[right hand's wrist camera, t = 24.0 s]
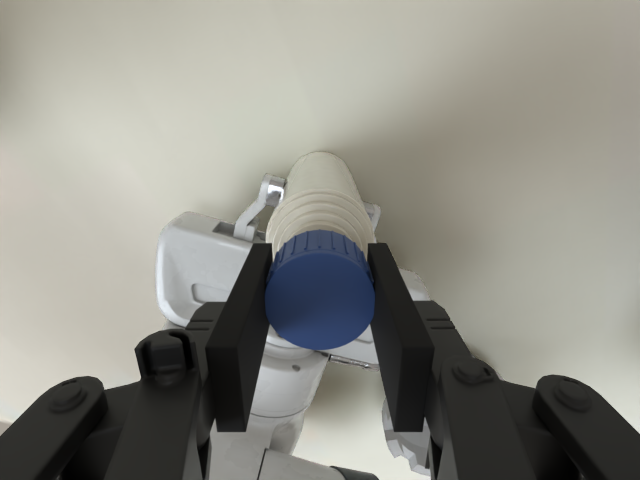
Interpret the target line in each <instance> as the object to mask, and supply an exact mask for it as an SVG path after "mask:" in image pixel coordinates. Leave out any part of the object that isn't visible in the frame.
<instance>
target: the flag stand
mask: <svg viewBox="0 0 640 480" xmlns="http://www.w3.org/2000/svg"><path fill="white" fill-rule="evenodd" d="M472 357H474V356H473V355H472ZM474 358H475V357H474ZM496 374H497V375H498V377H499V379H500V380H503V381H504V379H503V378H502V377H501V376H500V375H499V374H498V373H497V372H496ZM382 422H383V427H384V432H385V437H386V442H387V445H388V448H389V450H390V452H391V453H392V455H393V456H394V458H396V457H398V456H400V455H402V456H403V457H405V458H406V459H408V460H409V464H410V468H411V471H414V472H416V473H419V474H422V475H426V476H431V473H430V468H429V469H425V464H426V457H427V451H428V444H429V438H430V430H429V427H428V424H427V421H426V418H425V419H424V426H423V432H394V430H393V426H392V421H391V417H390V412H389V408H388V403H387V399H386V398H385V400H384V403H383V408H382Z"/></svg>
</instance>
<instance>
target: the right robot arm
mask: <svg viewBox="0 0 640 480" xmlns="http://www.w3.org/2000/svg"><path fill="white" fill-rule="evenodd" d="M367 261H368V263H369V267H370V270H371V274H372V277H373V280H374V284H373V286H374V290H375V306H374V316H373V319H372V321H371V323H370V327H371V331H372V336H373V340H374V345H375V349H376V354H377V358H378V363H379V367H380V372H381V376H382V381H383V385H384V390H385V394H386V399H387V403H388V408H389V412H390V417H391V421H392V426H393V430H394V432H423V426H424V419H425V418H426V421H427V424H428V427H429V430H430V438H429V444H428V451H427V457H426V464H425V469H429V468H430V473H431V480H640V434H639V433H638V432H637V431H636V430H635V429H634V428H633V427H632V426H631V425H630V424H629V423H628V422H627V421H626V420H625V419H624V418H623V417H622V416H621V415H620V414H619V413H618V412H617V411H616V410H615V409H614V408H613V407H612V406H611V405H610V404H609V403H608V402H607V401H606V400H605V399H604V398H603V397H602V396H601V395H600V394H599V393H597V392H596V391H595V390H593V389H592V388H591V387H590V386H588V385H586V384H584V383H582V382H580V381H578V380H576V379H572V378H569V377H566V376H561V375H548V376H543V377H542V378H541V379H540V380H539V381H538V383H537V386H536V389H535V388H531V387H527V386H522V385H518V384H513V383H510V382H506V381H503V380H500V379H499V377H498V375H497V374H496V372H495V371H494V369H492V368H491V367H490V366H489V365H488V364H486V363H485V362H483V361H481V360H479V359H477V358H474V357H472V355H471V353H470V351H469V350H468V348H467V346H466V345H465V343H464V341H463V340H462V338H461V336H460V335H459V333H458V331H457V330H456V329H455V326H454V325H453V323H452V321H450V318H449V316H448V315H447V313H446V311H445V309H443V308H442V307H441V306H440V305H438V304H437V303H436V302H434V301H413V299H412V297H411V295H410V293H409V291H408V289H407V286H406V284H405V282H404V280H403V278H402V276H401V274H400V271H399V269H398V267H397V265H396V263H395V261H394V258H393V256H392V254H391V252H390V250H389V248H388V246H387V243H368V249H367ZM272 262H273V253H272V243H253V245H252V247H251V249H250V252H249V254H248V256H247V258H246V260H245V262H244V264H243V267H242V269H241V271H240V273H239V275H238V277H237V279H236V282H235V284H234V286H233V288H232V290H231V292H230V295H229V297H228V299H227V301H226V302H206V303H204V304H203V305H202V306H201V307H199V308H198V309H197V310H195V312H194V314H193V316H192V317H191V319H190V322H188V324H187V326H186V327H185V330H184V329H166V330H162V331H158V332H156V333H154V334H151V335H149V336H147V337H146V338H145V339H143V340H142V341H140V342H139V344H138V345H137V346H136V348H135V353H136V358H137V362H138V366H139V370H140V374H141V380H140V381H138V382H135V383H132V384H128V385H124V386H120V387H115V388H111V389H107V390H104V387H103V384H102V382H101V381H100V380H99V379H98V378H95V377H90V376H84V377H76V378H73V379H69V380H66V381H63V382H61V383H59V384H57V385H56V386H54V387H52V388H50V389H49V390H48V391H46V392H45V393H44V394H42V395H41V396H40V397H39V398H38V399H37V400H36V401H35V402H34V403H33V404H32V405H31V406H30V407H29V408H28V409H27V410H26V411H25V412H24V413H23V414H22V415H21V416H20V417H19V418H18V419H17V420H16V421H15V422H14V423H13V424H12V425H11V426H10V427H9V428H8V429H7V430H6V431H5V432H4V433H3V434H2V435H1V436H0V480H209V474H210V463H211V452H212V445H211V438H210V432H211V428H212V425H213V422H214V419H215V421H216V428H217V432H246V429H247V425H248V420H249V416H250V411H251V407H252V402H253V398H254V393H255V389H256V384H257V380H258V375H259V371H260V366H261V362H262V357H263V353H264V348H265V344H266V339H267V335H268V330H269V326H270V323H269V321H268V319H267V316H266V310H265V289H266V286H267V284H266V280H267V277H268V273H269V270H270V267H271V263H272Z"/></svg>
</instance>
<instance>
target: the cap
mask: <svg viewBox="0 0 640 480" xmlns="http://www.w3.org/2000/svg"><path fill="white" fill-rule="evenodd" d="M266 284H267V286H266V289H265V310H266V316H267V319H268V321H269V323H270V324H271V326H272V327H273V329H274V330H275V331H276V332H277V333H278V334H279V335H280V336H281V337H282V338H284V339H285V340H286V341H288V342H290V343H292V344H294V345H296V346H299V347H302V348H305V349H311V350H329V349H334V348H338V347H341V346H344V345H346V344H348V343H350V342H352V341H353V340H355V339H356V338H358V337H359V336H360V335H361V334H362V333H363V332H364V331H365V330H366V329H367V327H368V326H369V324H370V323H371V321H372V319H373V316H374V306H375V290H374V286H373V284H374V280H373V277H372V274H371V270H370V267H369V263H368V261H367V262H366V259H365V255H364V252H363V251H361V250H360V248H359V247H358V246H357V245H356V243H355V242H353V241H352V240H350V239H349V238H347V237H346V236H345V235H342V234H339V233H336V232H334V231H328V230H321V229H319V230H312V231H306V232H304V233H301V234H298V235H295V236H294V237H293V238H291V239H290V240H288V241H287V242H284V244H283V246H282V247H281V248H280V250H279V251H277V252H276V255H275V258H274V262H272V263H271V267H270V270H269V273H268V277H267V280H266Z"/></svg>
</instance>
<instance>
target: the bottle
mask: <svg viewBox="0 0 640 480" xmlns="http://www.w3.org/2000/svg"><path fill="white" fill-rule="evenodd" d="M319 229H321V230H328V231H334V232H336V233H339V234H342V235H345V236H346V237H347V238H349V239H350V240H352V241H353V242H355V243H356V245H357V246H358V247H359V248H360V250H361V251H363V252H364V255H365V259H366V262H367V249H368V243H374V231H373V226H372V223H371V220H370V218H369V215H368V213H367V211H366V208H365V206H364V204H363V201H362V199H361V197H360V194H359V192H358V189H357V187H356V185H355V182H354V180H353V178H352V175H351V173H350V171H349V168H348V167H347V165H346V164H345V163H344V162H343V161H342V160H341V159H340V158H339V157H337V156H336V155H334V154H331V153H328V152H312V153H309V154H307V155H305V156H303V157H301V158H300V159H299V160H298V161H297V162H296V163H295V164H294V165H293V167H292V169H291V171H290V173H289V175H288V178H287V180H286V182H285V185H284V187H283V190H282V192H281V194H280V197H279V199H278V201H277V204H276V206H275V208H274V211H273V213H272V216H271V218H270V220H269V223H268V226H267V231H266V243H272V253H273V262H274V258H275V255H276V252H277V251H279V250H280V248H281V247H282V246H283V244H284V242H287V241H288V240H290V239H291V238H293V237H294V236H295V235H298V234H301V233H304V232H306V231H312V230H319Z"/></svg>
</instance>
